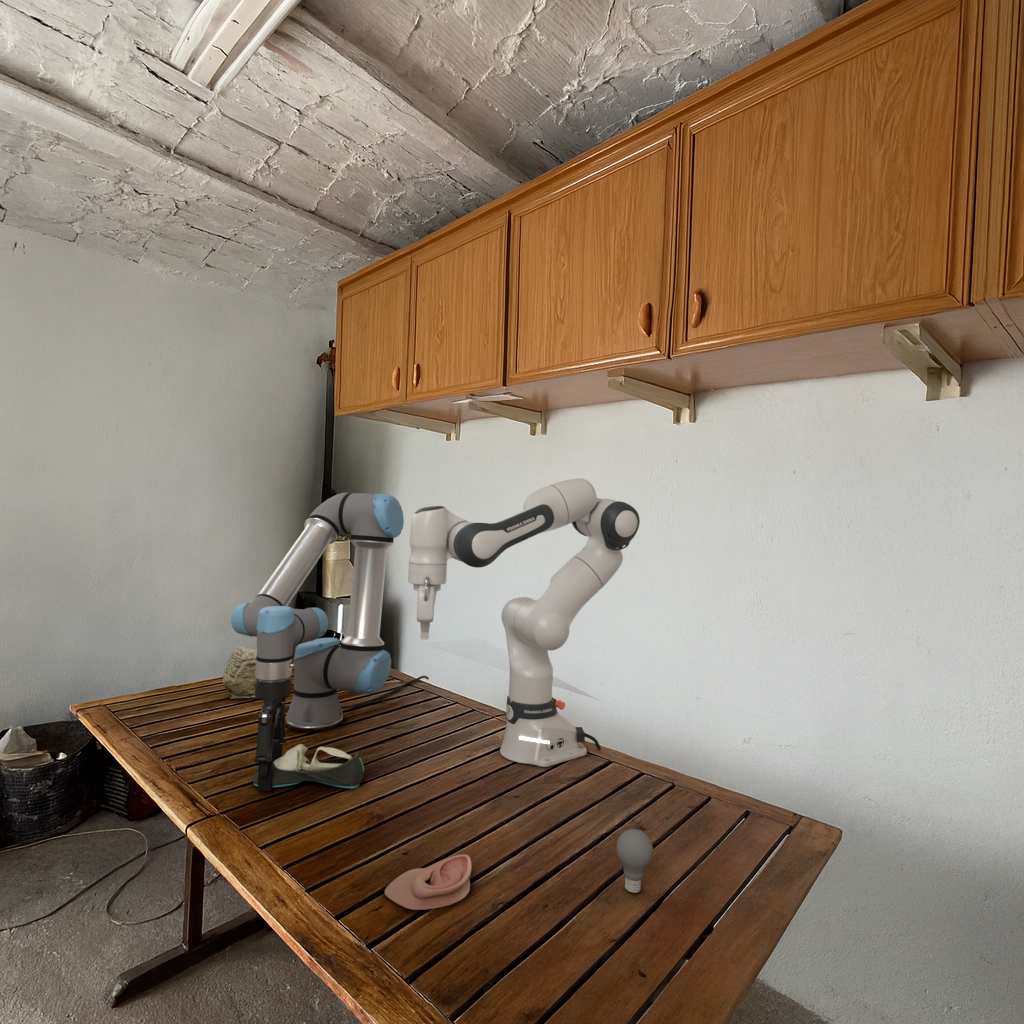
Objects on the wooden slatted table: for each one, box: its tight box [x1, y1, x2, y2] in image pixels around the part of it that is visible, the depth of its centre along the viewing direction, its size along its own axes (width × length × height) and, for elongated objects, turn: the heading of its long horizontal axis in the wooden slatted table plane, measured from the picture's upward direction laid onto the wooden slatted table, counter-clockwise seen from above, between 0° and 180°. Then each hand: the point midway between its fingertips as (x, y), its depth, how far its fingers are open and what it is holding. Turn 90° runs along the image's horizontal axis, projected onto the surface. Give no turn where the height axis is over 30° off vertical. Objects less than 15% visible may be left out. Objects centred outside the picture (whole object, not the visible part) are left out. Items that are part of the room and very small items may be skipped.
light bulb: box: [615, 828, 654, 894], centre depth 106 cm, size 6×6×10 cm
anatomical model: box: [384, 853, 473, 911], centre depth 104 cm, size 13×4×12 cm
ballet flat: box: [251, 743, 366, 789], centre depth 140 cm, size 8×24×8 cm, turn 96°
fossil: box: [222, 646, 257, 699], centre depth 198 cm, size 9×18×15 cm, turn 132°
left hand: (269, 781), depth 139 cm, fingers closed on ballet flat, 8 cm apart
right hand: (425, 634), depth 148 cm, fingers open, 8 cm apart
